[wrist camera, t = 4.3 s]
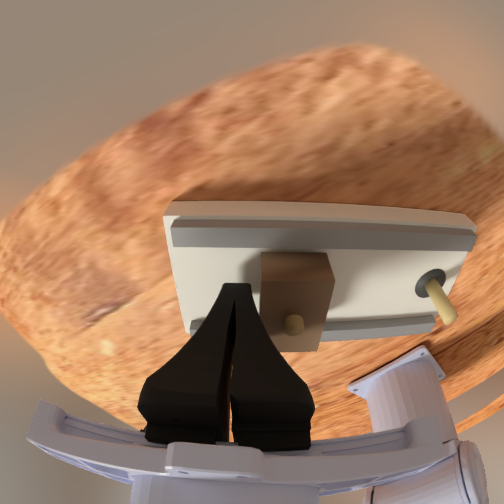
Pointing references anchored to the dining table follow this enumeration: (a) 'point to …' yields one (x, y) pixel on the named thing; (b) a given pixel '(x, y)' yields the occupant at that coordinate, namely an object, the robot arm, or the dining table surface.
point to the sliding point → (295, 298)
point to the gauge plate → (339, 254)
